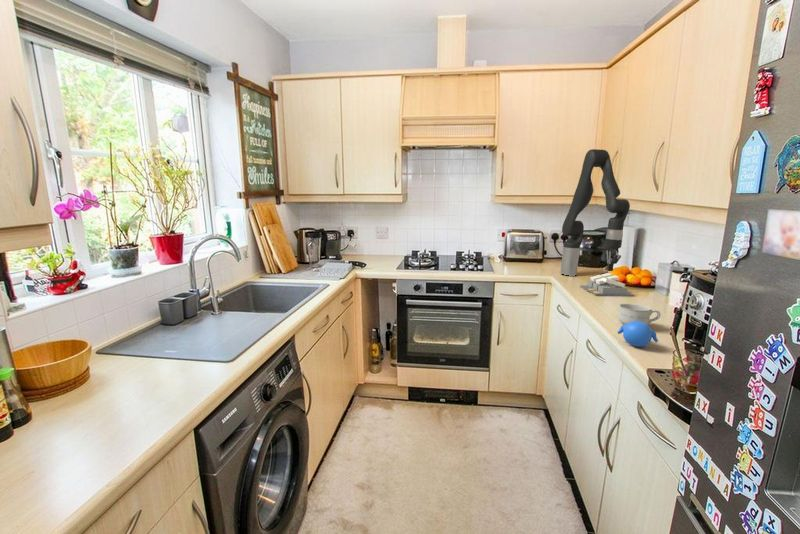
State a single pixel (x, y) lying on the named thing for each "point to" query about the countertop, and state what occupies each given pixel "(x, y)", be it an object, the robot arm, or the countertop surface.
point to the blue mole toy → (637, 333)
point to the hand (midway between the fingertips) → (609, 270)
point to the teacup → (636, 313)
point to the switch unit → (605, 289)
